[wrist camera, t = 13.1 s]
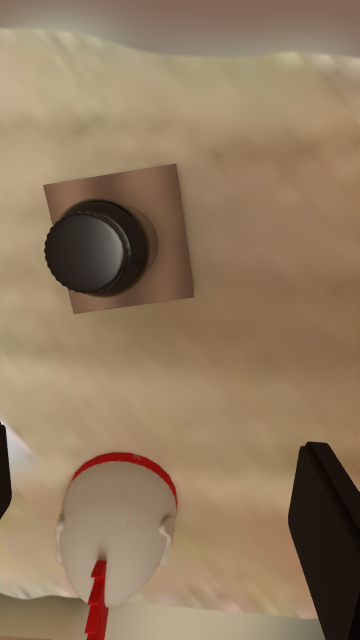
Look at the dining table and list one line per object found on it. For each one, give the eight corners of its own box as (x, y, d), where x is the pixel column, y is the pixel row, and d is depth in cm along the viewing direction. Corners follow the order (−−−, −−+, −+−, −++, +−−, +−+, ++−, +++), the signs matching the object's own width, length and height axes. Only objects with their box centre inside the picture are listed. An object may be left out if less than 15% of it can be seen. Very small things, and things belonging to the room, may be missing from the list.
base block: (176, 170, 31) (175, 163, 28) (193, 291, 34) (194, 297, 32) (55, 189, 32) (43, 185, 29) (82, 307, 35) (73, 314, 32)
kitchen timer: (72, 539, 43) (16, 692, 29) (65, 450, 40) (-3, 575, 25) (175, 542, 43) (172, 697, 29) (178, 453, 40) (175, 580, 25)
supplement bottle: (75, 216, 30) (6, 206, 18) (147, 197, 29) (124, 173, 18) (99, 288, 31) (49, 321, 20) (167, 271, 31) (157, 294, 19)
